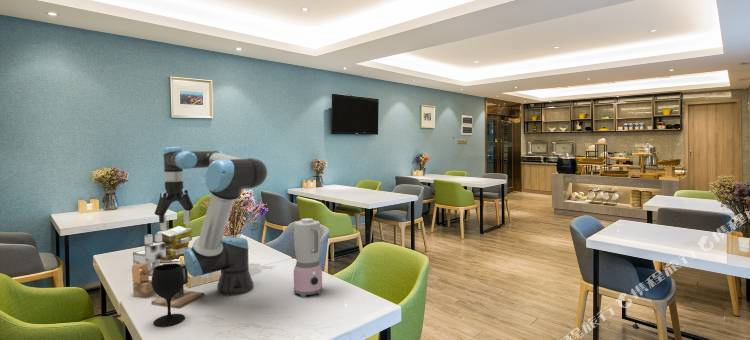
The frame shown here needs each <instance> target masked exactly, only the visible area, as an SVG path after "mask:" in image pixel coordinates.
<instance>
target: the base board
mask: <svg viewBox="0 0 750 340" xmlns="http://www.w3.org/2000/svg"><path fill="white" fill-rule="evenodd" d="M205 293H206V292H203V291H193V290H185V289H184V296H183V297H181V298H179V299H177V298H174V297H173V298H172V299H171V305H170V307H171V308H175V309H182V308H183V307H185V306H187V305H189V304H191V303H193V302H194V301H196V300H199V299H200V298H202V297H203V298H204V297H205V296H206V295H205ZM151 305H154V306H160V307H167V301H166V299H164V298H162V297H160V296H159V297H158V298H156V299H154V300H152V301H151Z"/></svg>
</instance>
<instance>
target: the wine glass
mask: <svg viewBox="0 0 750 340" xmlns="http://www.w3.org/2000/svg"><path fill="white" fill-rule="evenodd" d="M180 264H181V263H177V262H170V263H164V264H160V265H159V266H157V267H155V268H154V270H153V274H152V276H151V280H152V288H153V290H154V292H155V293H156V294H155V295H156V296H157V295H158V297H159V298H160V297H162V298H164V299H166V301H167V306H166V308H167V314H165V315H161V316H159V317H158V318H156V319H154V321H153V326H154V327H158V328H165V327H172V326H175V325H178V324H180V323H181V324H182V322H183V321H184V320H185V319H186V316H185V315H184V314H182V313H172V311H171V308H172V307H170V305H171V299H172V298H173V297H174V296H175V295H176V294H177V293H178V292H179V291H180V290H181V288H182V286H184V285H183V282H184V274H183V270H182V267H181V265H180Z"/></svg>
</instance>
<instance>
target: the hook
mask: <svg viewBox="0 0 750 340" xmlns="http://www.w3.org/2000/svg"><path fill="white" fill-rule="evenodd" d="M131 272H132V273H131V275H132V283H134V282H135V283H142V282H144V281H147V280H150V277H152V274H153V270H152V269H151V270H148V264H144V263H140V264H137V265H132V266H131Z"/></svg>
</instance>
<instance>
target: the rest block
mask: <svg viewBox="0 0 750 340" xmlns="http://www.w3.org/2000/svg"><path fill="white" fill-rule="evenodd" d="M132 288H133V289H132V291H133V297H134V296H135V297H134V298H142V299H148V298H150V297H153V296H156V295H157V294H156V293H155V292H154V290H153V288H152V279H149V280H147V281H144V282H142V283H135V282H132Z"/></svg>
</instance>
